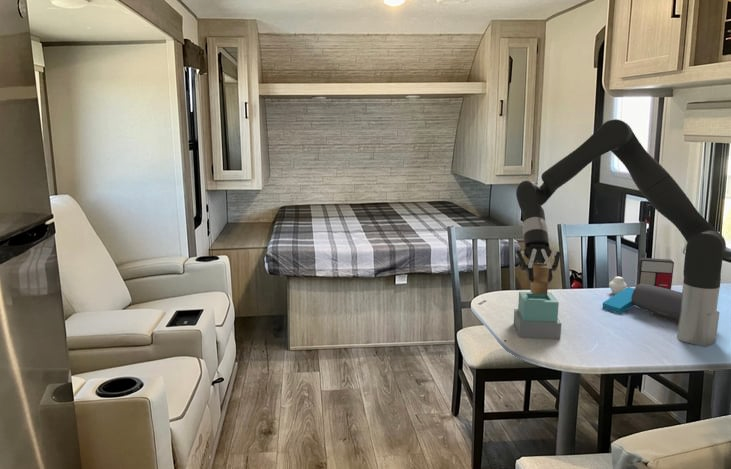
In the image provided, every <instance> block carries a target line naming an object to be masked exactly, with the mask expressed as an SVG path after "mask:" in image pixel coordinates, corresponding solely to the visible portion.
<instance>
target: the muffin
mask: <svg viewBox="0 0 731 469" xmlns="http://www.w3.org/2000/svg"><path fill="white" fill-rule="evenodd" d="M627 287H628V285H627V283H626V282H625V280H624V278H623V277H622V276H614V277H613V280H611V281H610V282H609V288H610V291H611V293H612V294H613V295H616V294H617V293H619V292H621V291H622V290H624V289H625V288H627Z"/></svg>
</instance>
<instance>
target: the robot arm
mask: <svg viewBox="0 0 731 469" xmlns="http://www.w3.org/2000/svg"><path fill="white" fill-rule="evenodd" d="M608 152H611V153H612V154H613V155H614V156H615V157H616V158H617V159H618V160H619V161H620V162H621V163H622V164H623V165H624V167H625V168H626V169H627V172H628V173H629V175H630V177H631V179H632V181H633V183H634V184H635V186H636V187H637V190H639V191H640V193H641V194H642V195H643V198H645V199H646V201H647V202H648V203H649V204H650V205H651V206H652V208H654V209H655V210H656V211H657V212H658V213H659V214H661V215H662V216H663V217H664V218H666V219H667V220H668V221H669V222H671V223H672V224H673V225H674V227H676V229H677V230H678V231H679V233H681V235H682V236H683V238H684V239H685V241H686V245H685V251H684V252H685V253H684V262H683V271H682V272H683V282H682V292H681V293H682V298H681V306H680V315H679V323H677V330H676V331H677V334H676V337H677V339H679V341H681V342H684V343H687V344H691V345H699V346H703V347H709V346H710V345H713V344H714V343H716V341H717V335H718V326H719V319H720V311H718V310H717V309H718V302H719V294H720V289H721V282H722V281H721V280H722V279H721V278H722V277H721V276H722V275H721V274H722V266H723V257H724V253H725V250H726V247H727V244H726V240H725V237H723V235H722V234H721V233H720V232H719V231H718V230H717V229H716V228H715V227H714V226H713V225H711V224H710V222H708V221H707V219H705V217H703V215H701V213H700V212H699V211H698V210H697V208H696V207H695V206H694V204H693V202H692V201H691V200H690V199H689V197H688V196H687V194H686V193H685V192H684V190H683V189H682V188H681V187H680V185H679V184H678V183H677V181H676V180H675V179H674V178H673V177H672V176H671V174H670V173H669V172H668V171H667V170H666V169H665V168H664V167H663V166H662V165H661V164H660V163H659V162H658V161H657V160H656V159H655V158H654V157H653V156H651V154H650V153H649V152H647V151H646V149H645V148H644V146H643V145H642V144H641V142H640V141H639V138H637V136H636V134H635V133H634V132H633V129H632V127H631V125H629V124H628V123H627V122H625V121H624V120H622V119H618V118H613V119H609V120H606V121H605V122H603V123H602V124H601V126H599V128H598V129H597V130H596V131H594V132H593V133H592V134H591V135H590V136H589V137H588V138H587V139H586V140H585V141H584V142H583V143H582V144H580V145H579V146H578V147H577V148H576V149H574V150H573V151H571V152H569V154H568V155H566V156H564V157H562V158H561V159H560V160H559V161H557V162H556V163H554V164H553V165H552V166H550V167H549V168H548V169H546V170H545V171H544V172H543V173H541V181H542V182H543V183H542V184H541V185H540V186H538V185H537V184H536V183H535V182H533V181H531V180H529V179H528V180H523V181H521V182H520V183H519V184H518V186H517V188H516V192H515V194H516V195H515V196H516V200H517V203H518V206H519V209H520V212H521V214H522V225H523V226H522V236H523V244H524V246H523V247H524V248H523V250H516V251H515V259H516V261H517V264H518V266H519V267H520V270H521V271H526V272H527V280H528V281H530V282H533V281H534V277H533V269H532V265H533V264H546V265H547V266H548V267H549V276H548V284H550V283H551V282H552V280H553V277H554V276H553V272H556V271H557V269H558V267H559V264H560V263H559V261H560V258H561V252H560V251H556V252H555V251H553V250H552V249H551V248H550V241H549V240H550V239H549V233H548V227H547V223H546V216H545V211H544V208H543V207H542V206H543V205H545V204H546V203H547V201H548V200H549V199H550V198H551V197H552V195H554V193H555V192H556V191H557V190H558V189H559V188H561V187H562V186H563V185H566V184H567V183H568V182H569V181H571V180H572V179H573V178H575V177H576V176H577V175H578V174H579V173H580V172H581V171H583V169H584V168H586V167H588V165H589V164H591V163H592V162H593V161H594V160H596V159H598V158H599V157H601V156H603V155H605V154H607V153H608ZM524 256H525V257H526V258H527V259H528V264H526V261H525V259H524ZM550 256H551V258H552V260H553V263H552V264H551V262H550ZM530 282H529V283H530Z"/></svg>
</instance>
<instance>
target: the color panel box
mask: <svg viewBox="0 0 731 469" xmlns="http://www.w3.org/2000/svg"><path fill="white" fill-rule="evenodd" d="M674 264H675V262H674V260H672V259H667V258H651V257H650V258H649V257H639V259H638V266H637V267H638V268H637V269H638V271H637V280H636V286H637V285H638V284H647V285H652V286H657V287H662V288H666V289H670V290H672V283H673V276H674V266H675V265H674Z"/></svg>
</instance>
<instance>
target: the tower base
mask: <svg viewBox="0 0 731 469" xmlns="http://www.w3.org/2000/svg"><path fill="white" fill-rule="evenodd" d="M559 304H560V303H559V300H557V298H556V296H555V295H554V294H553V293H552V292H548V291H547V295H545V294H532V292H531V291H518V304H517V305H518V306H517V308H514V310H513V311H514V312H513V325H514V328H515V330H516V332H517V335H518V337H519V338H523V339H526V338H528V339H544V340H545V339H546V340H547V339H549V340H561V335H562V334H561V333H562V322H561V320H560V319H559V316H558V315H559Z"/></svg>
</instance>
